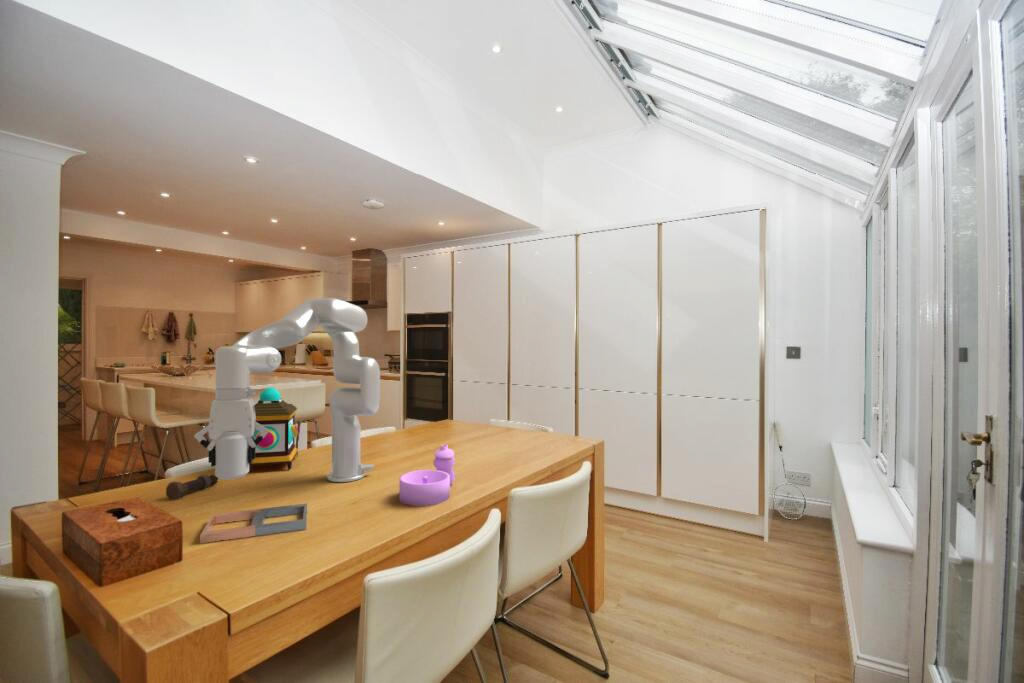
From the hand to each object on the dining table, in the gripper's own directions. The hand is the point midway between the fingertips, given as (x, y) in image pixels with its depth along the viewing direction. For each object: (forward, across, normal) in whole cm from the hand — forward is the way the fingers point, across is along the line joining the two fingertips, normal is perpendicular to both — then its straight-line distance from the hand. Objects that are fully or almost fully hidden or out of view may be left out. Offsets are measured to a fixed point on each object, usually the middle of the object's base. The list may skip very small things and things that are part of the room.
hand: (232, 463), depth 119 cm
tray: (+17, -6, 0) cm, 18 cm away
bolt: (+17, +16, -37) cm, 44 cm away
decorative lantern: (+17, -4, -61) cm, 63 cm away
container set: (+17, -54, -10) cm, 58 cm away
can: (+4, 0, 0) cm, 4 cm away
